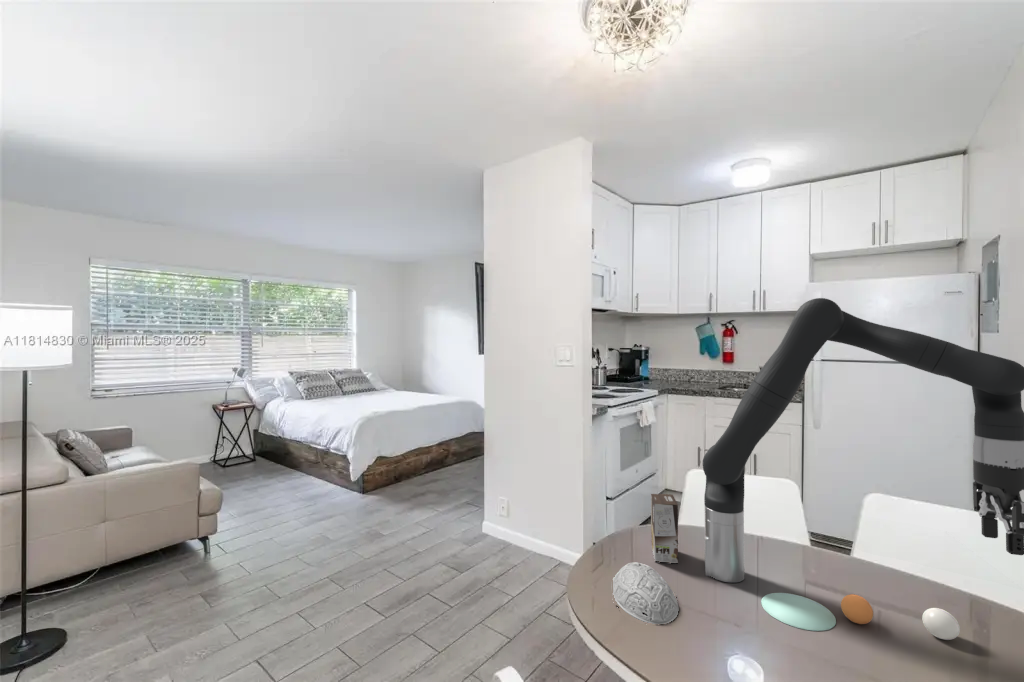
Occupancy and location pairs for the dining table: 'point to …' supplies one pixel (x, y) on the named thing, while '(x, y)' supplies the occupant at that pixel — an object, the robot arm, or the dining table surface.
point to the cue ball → (940, 623)
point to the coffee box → (664, 527)
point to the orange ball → (857, 609)
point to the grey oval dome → (644, 594)
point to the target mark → (798, 611)
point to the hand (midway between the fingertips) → (1002, 545)
